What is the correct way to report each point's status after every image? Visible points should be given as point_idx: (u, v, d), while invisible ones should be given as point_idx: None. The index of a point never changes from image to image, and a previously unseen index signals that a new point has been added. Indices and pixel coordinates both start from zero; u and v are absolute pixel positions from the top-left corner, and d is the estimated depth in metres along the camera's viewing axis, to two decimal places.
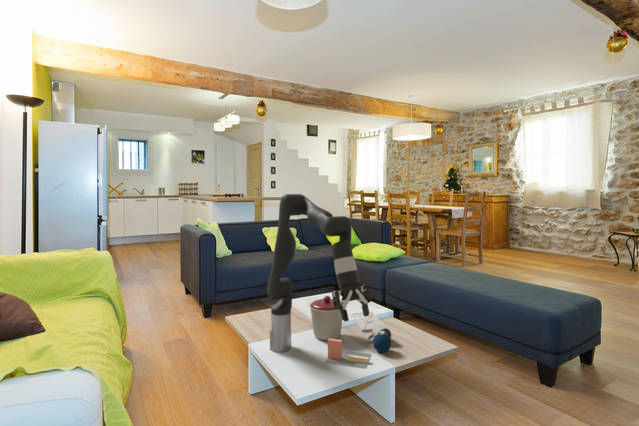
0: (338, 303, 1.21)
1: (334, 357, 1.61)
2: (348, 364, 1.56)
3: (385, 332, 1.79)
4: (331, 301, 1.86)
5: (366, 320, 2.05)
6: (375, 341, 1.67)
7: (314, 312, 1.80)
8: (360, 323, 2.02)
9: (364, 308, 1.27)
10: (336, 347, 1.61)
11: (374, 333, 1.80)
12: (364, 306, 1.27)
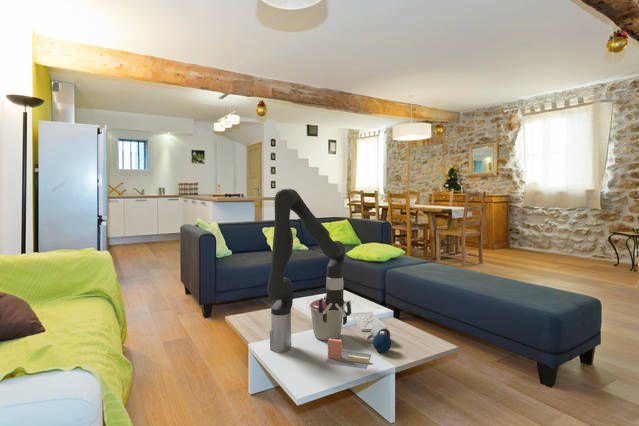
0: (319, 308, 1.62)
1: (334, 357, 1.61)
2: (348, 364, 1.56)
3: (384, 332, 1.79)
4: None
5: (366, 320, 2.05)
6: (375, 341, 1.67)
7: (314, 312, 1.80)
8: (360, 323, 2.02)
9: None
10: (336, 347, 1.61)
11: (373, 333, 1.80)
12: (343, 317, 1.59)
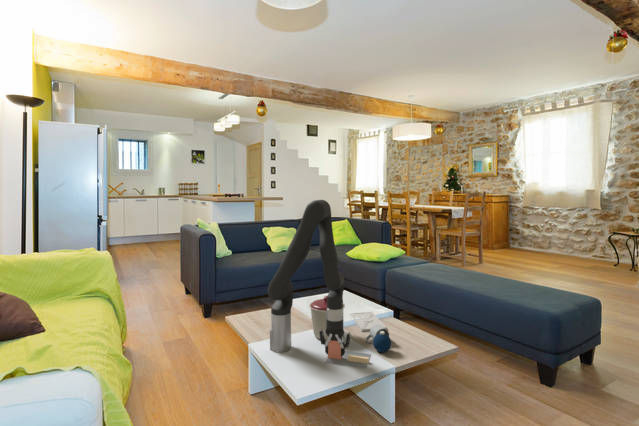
0: (321, 340, 1.63)
1: (334, 357, 1.61)
2: (348, 364, 1.56)
3: None
4: None
5: (366, 320, 2.05)
6: (375, 341, 1.67)
7: (314, 312, 1.80)
8: (360, 323, 2.02)
9: None
10: (336, 347, 1.61)
11: (372, 333, 1.80)
12: (341, 348, 1.61)
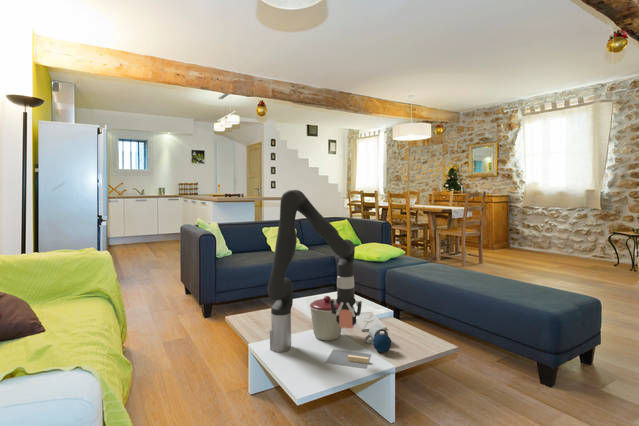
0: (332, 310, 1.60)
1: (345, 326, 1.59)
2: (348, 364, 1.56)
3: None
4: None
5: (366, 320, 2.05)
6: (375, 341, 1.67)
7: (314, 312, 1.80)
8: (360, 323, 2.02)
9: None
10: (347, 316, 1.59)
11: (371, 333, 1.79)
12: (352, 317, 1.58)
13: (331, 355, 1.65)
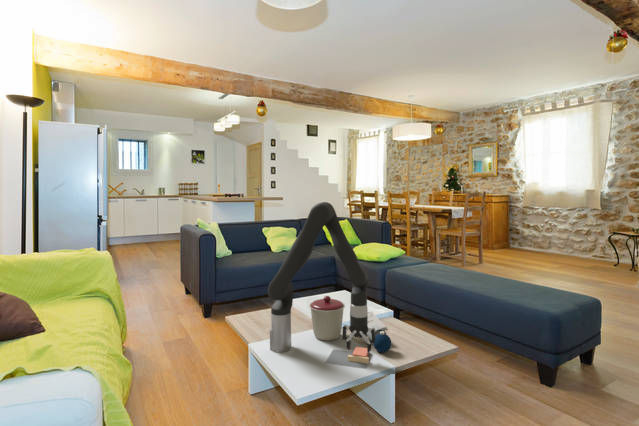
0: (343, 335, 1.60)
1: (359, 354, 1.61)
2: (348, 364, 1.56)
3: None
4: (331, 301, 1.86)
5: None
6: (375, 341, 1.67)
7: (314, 312, 1.80)
8: None
9: None
10: (363, 350, 1.65)
11: (369, 334, 1.79)
12: None
13: (331, 355, 1.65)
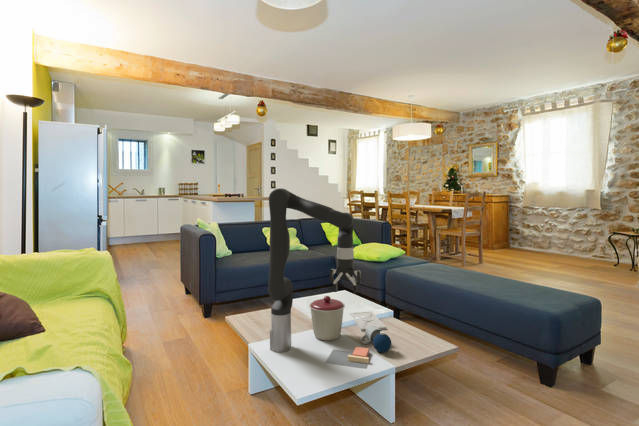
0: (330, 278, 1.67)
1: (359, 354, 1.61)
2: (348, 364, 1.56)
3: (378, 333, 1.78)
4: (331, 301, 1.86)
5: (365, 319, 2.06)
6: (375, 341, 1.67)
7: (314, 312, 1.80)
8: (359, 322, 2.03)
9: None
10: (363, 350, 1.65)
11: (367, 334, 1.79)
12: None
13: (331, 355, 1.65)
